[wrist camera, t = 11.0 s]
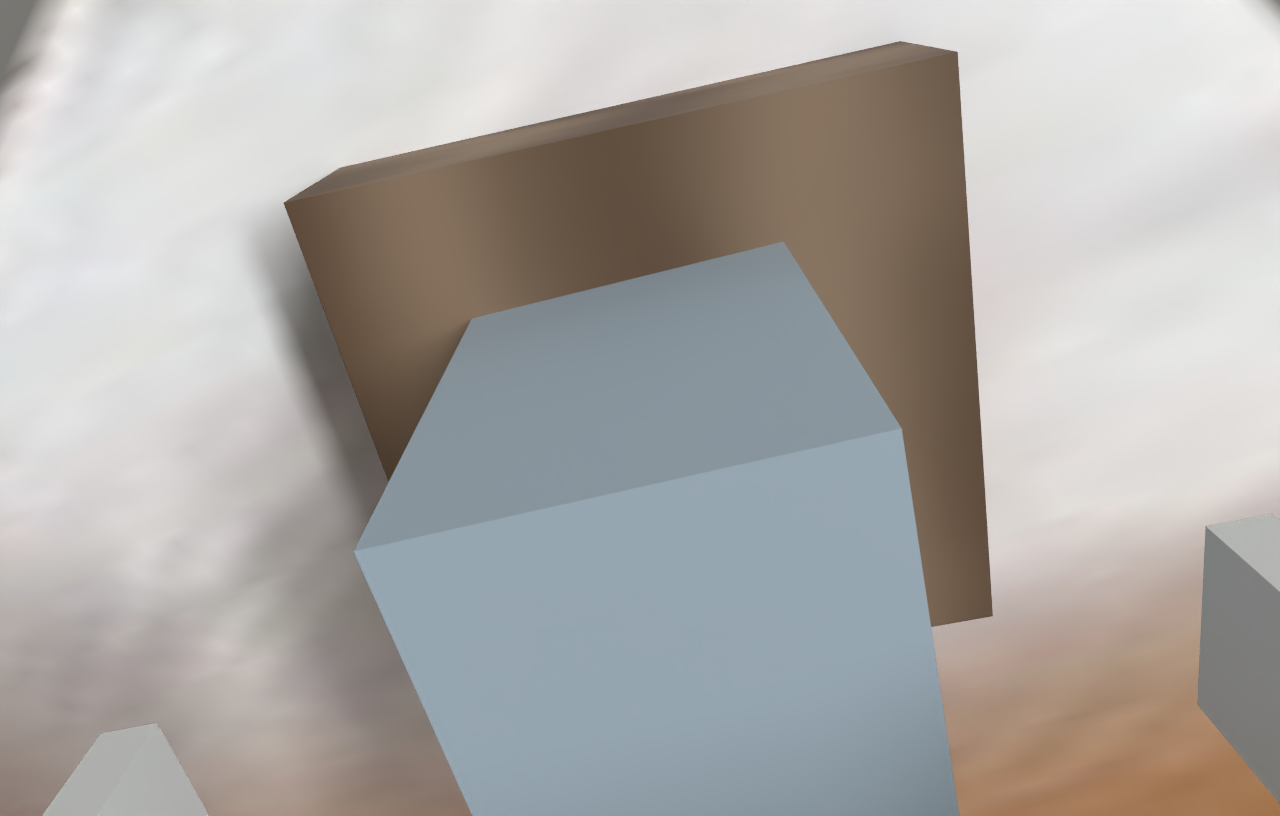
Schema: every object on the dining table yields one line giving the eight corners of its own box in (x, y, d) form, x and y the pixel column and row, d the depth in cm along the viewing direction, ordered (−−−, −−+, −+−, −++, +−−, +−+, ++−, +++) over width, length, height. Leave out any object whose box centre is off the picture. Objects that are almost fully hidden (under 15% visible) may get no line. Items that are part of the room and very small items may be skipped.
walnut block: (496, 602, 25) (474, 707, 21) (346, 164, 20) (283, 202, 16) (937, 520, 24) (992, 616, 20) (894, 40, 19) (957, 51, 15)
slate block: (560, 575, 20) (517, 915, 12) (471, 318, 17) (352, 551, 10) (835, 515, 19) (962, 835, 12) (783, 241, 17) (901, 428, 9)
